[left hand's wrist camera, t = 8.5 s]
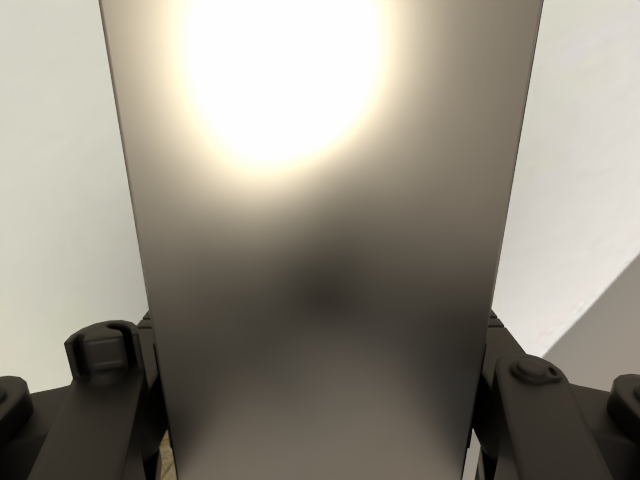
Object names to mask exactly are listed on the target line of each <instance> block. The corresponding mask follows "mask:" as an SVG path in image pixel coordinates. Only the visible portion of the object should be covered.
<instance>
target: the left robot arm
mask: <svg viewBox="0 0 640 480" xmlns="http://www.w3.org/2000/svg"><path fill="white" fill-rule="evenodd" d="M64 345H65V349H66V353H67V357H68V361H69V365H70V369H71V372H72V376H73V380H72V382H71V385H69V386H65V387H61V388H56V389H51V390H46V391H42V392H37V393H32V394H30V392H29V389H28V386H27V383H26V381H24V380H23V379H22V378H21V377H15V376H3V377H0V480H160V478H161V469H162V459H161V453H160V447H159V446H160V444H161V442H162V440H163V437H164V435H165V433H166V431H168V437H169V443H170V448H172V447H171V440H170V434H169V428H168V422H167V416H166V410H165V404H164V398H163V391H162V385H161V379H160V373H159V367H158V361H157V355H156V349H155V343H154V336H153V330H152V324H151V318H150V312H149V311H148V312H147V313H146V314H145V316H144V317H143V320H141V321H140V322H139V323H138V325H137V326H136V325H135V324H133V323H132V322H128V321H123V320H113V321H105V322H100V323H96V324H93V325H90V326H88V327H85V328H83V329H81V330H79V331H78V332H76V333H74V334H73V335H71V336H70V337H69V338H68V339H67V340H66V342H65V343H64ZM473 429H474V431H475V434H476V436H477V438H478V440H479V442H480V445H481V447H480V453H479V458H478V464H477V469H476V475H475V480H640V375H636V374H627V375H620V376H619V377H617V378H616V379H615V380H614V381H613V385H612V388H611V391H610V392H607V391H602V390H597V389H592V388H588V387H583V386H578V385H574V384H571V383H569V382H568V380H567V378H566V376H565V375H564V374H563V372H562V371H561V370H560V369H559V368H557V367H556V366H554V365H553V364H552V363H550V362H548V361H546V360H544V359H542V358H539V357H537V356H533V355H529V354H526V353H525V351H524V350H523V349H522V348H521V346H520V345H519V344H518V342H517V341H516V340H515V339H514V337H513V336H512V335H511V334H510V332H509V331H508V330H507V328H504V325H503V323H502V322H501V321H500V319H497V316H496V314H495V313H494V312H493V311H492V309H491V313H490V319H489V324H488V330H487V336H486V342H485V348H484V354H483V360H482V366H481V372H480V377H479V383H478V389H477V395H476V401H475V407H474V413H473V419H472V424H471V430H470V436H469V442H468V448H469V447H470V442H471V436H472V430H473Z"/></svg>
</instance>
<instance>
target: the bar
mask: <svg viewBox="0 0 640 480" xmlns="http://www.w3.org/2000/svg"><path fill="white" fill-rule="evenodd" d="M543 1H544V0H99V6H100V12H101V18H102V24H103V31H104V37H105V43H106V49H107V55H108V61H109V67H110V73H111V79H112V86H113V92H114V98H115V104H116V110H117V116H118V122H119V128H120V135H121V141H122V147H123V153H124V159H125V165H126V171H127V177H128V183H129V190H130V196H131V202H132V208H133V214H134V220H135V226H136V232H137V239H138V245H139V251H140V257H141V263H142V269H143V275H144V281H145V287H146V294H147V300H148V306H149V312H150V318H151V324H152V330H153V336H154V343H155V349H156V355H157V361H158V367H159V373H160V379H161V385H162V391H163V398H164V404H165V410H166V416H167V422H168V428H169V434H170V440H171V447H172V453H173V459H174V465H175V471H176V477H177V480H462V477H463V472H464V466H465V460H466V454H467V448H468V442H469V436H470V430H471V424H472V419H473V413H474V407H475V401H476V395H477V389H478V383H479V377H480V372H481V366H482V360H483V354H484V348H485V342H486V336H487V330H488V324H489V319H490V313H491V307H492V301H493V295H494V289H495V283H496V277H497V272H498V266H499V260H500V254H501V248H502V242H503V236H504V230H505V224H506V219H507V213H508V207H509V201H510V195H511V189H512V183H513V177H514V171H515V166H516V160H517V154H518V148H519V142H520V136H521V130H522V124H523V119H524V113H525V107H526V101H527V95H528V89H529V83H530V77H531V71H532V66H533V60H534V54H535V48H536V42H537V36H538V30H539V24H540V19H541V13H542V7H543Z"/></svg>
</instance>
